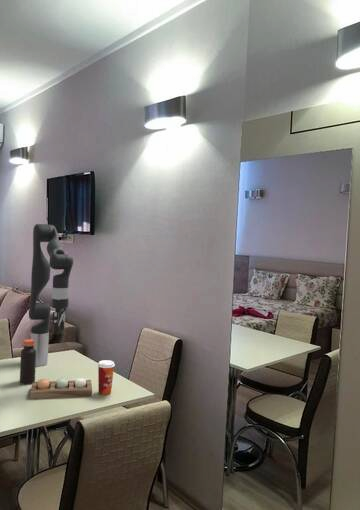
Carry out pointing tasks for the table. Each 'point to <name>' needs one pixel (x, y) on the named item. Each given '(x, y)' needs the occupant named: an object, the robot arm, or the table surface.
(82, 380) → the cream button
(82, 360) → the table surface
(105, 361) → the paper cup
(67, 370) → the table surface
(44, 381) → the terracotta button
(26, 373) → the bottle
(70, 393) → the button board
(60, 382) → the sage button
